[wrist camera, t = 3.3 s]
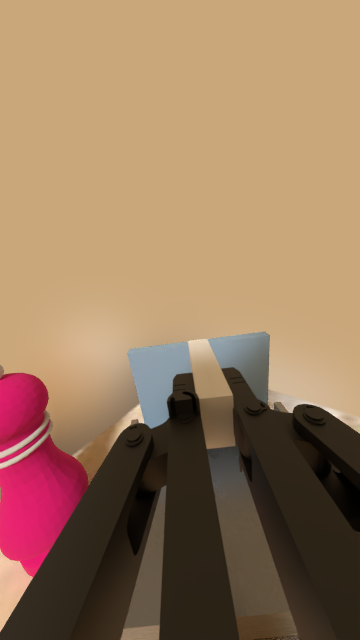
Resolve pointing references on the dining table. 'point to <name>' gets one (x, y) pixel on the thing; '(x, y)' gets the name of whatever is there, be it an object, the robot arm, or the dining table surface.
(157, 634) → the cart bed
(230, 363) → the panel
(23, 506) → the pepper mill
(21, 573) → the dining table surface
